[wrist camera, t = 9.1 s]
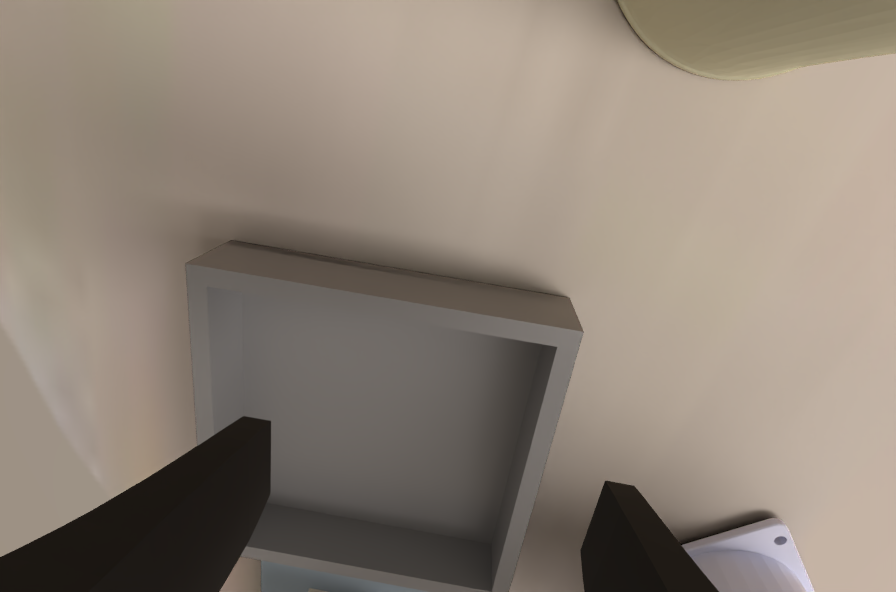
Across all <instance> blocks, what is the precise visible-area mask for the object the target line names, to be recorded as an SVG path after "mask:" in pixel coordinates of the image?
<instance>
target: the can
mask: <svg viewBox="0 0 896 592" xmlns="http://www.w3.org/2000/svg"><path fill="white" fill-rule="evenodd" d="M618 3H619V5H620V8H621V10H622V11H623V13H624V15H625V17H626V19H627V20H628V22H629V23H630V25H631V26H632V28H633V29H634V31H635V32H636V33H637V35H638V36H639V37H640V38H641V39H642V40H643V41H644V42H645V44H646V45H647V46H648V47H649V48H650V49H651V50H653V51H654V52H655V53H656V54H658V55H659V56H660V57H661V58H663V59H664V60H666V61H668V62H669V63H671V64H672V65H674V66H676V67H678V68H680V69H682V70H685V71H687V72H690V73H693V74H695V75H699V76H703V77H707V78H712V79H718V80H731V81H741V80H753V79H761V78H767V77H771V76H775V75H779V74H783V73H786V72H789V71H792V70H795V69H798V68H800V67H805V66H811V65H818V64H824V63H831V62H838V61H845V60H852V59H858V58H865V57H873V56H880V55H887V54H895V53H896V0H618Z"/></svg>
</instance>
